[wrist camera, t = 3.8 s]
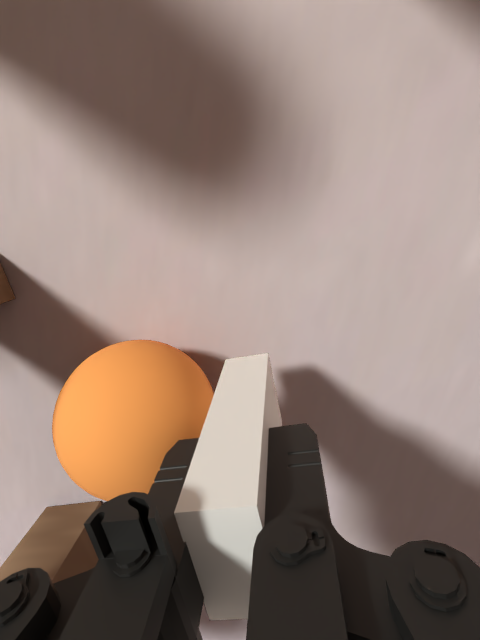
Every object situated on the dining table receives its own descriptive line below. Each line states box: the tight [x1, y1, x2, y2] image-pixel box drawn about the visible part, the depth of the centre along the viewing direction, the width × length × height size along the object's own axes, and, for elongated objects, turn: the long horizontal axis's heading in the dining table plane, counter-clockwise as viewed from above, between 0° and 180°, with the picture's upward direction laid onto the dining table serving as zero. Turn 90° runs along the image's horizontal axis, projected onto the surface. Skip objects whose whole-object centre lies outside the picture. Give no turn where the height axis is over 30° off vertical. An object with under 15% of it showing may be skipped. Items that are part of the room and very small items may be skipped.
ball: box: [52, 340, 214, 501], centre depth 13 cm, size 6×6×6 cm
